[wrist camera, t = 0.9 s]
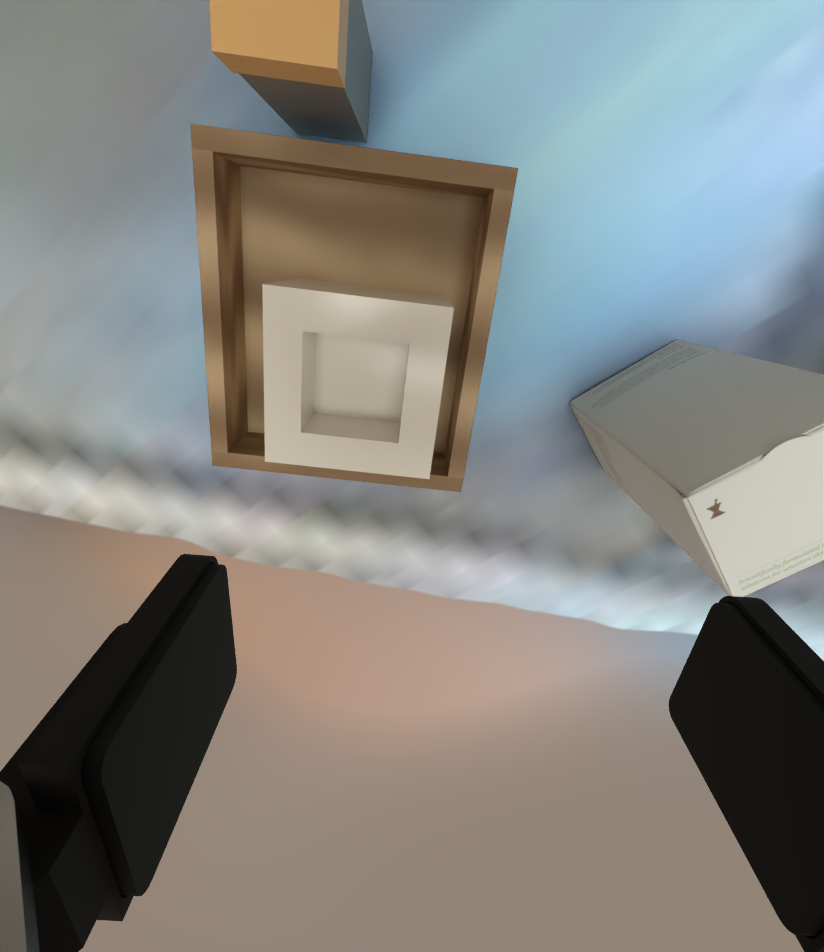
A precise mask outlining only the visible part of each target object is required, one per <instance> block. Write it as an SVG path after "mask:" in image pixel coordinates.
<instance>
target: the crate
mask: <svg viewBox="0 0 824 952" xmlns="http://www.w3.org/2000/svg"><path fill="white" fill-rule="evenodd" d="M190 125H191V140H192V156H193V171H194V187H195V202H196V218H197V233H198V249H199V264H200V280H201V295H202V311H203V326H204V342H205V357H206V373H207V388H208V404H209V419H210V435H211V451H212V465H213V466H222V467H232V468H241V469H250V470H260V471H269V472H278V473H288V474H297V475H307V476H316V477H325V478H335V479H344V480H353V481H363V482H372V483H381V484H391V485H400V486H409V487H419V488H428V489H438V490H447V491H456V492H461V489H462V483H463V477H464V472H465V466H466V460H467V455H468V449H469V443H470V438H471V432H472V426H473V421H474V415H475V409H476V404H477V398H478V392H479V387H480V381H481V375H482V370H483V364H484V358H485V353H486V347H487V341H488V336H489V330H490V324H491V319H492V313H493V307H494V302H495V296H496V290H497V285H498V279H499V273H500V268H501V262H502V256H503V251H504V245H505V239H506V234H507V228H508V222H509V217H510V211H511V205H512V200H513V194H514V188H515V183H516V177H517V171H518V168H512V167H505V166H497V165H490V164H482V163H475V162H468V161H460V160H453V159H446V158H438V157H431V156H424V155H416V154H409V153H401V152H394V151H387V150H379V149H372V148H365V147H357V146H350V145H343V144H335V143H328V142H320V141H313V140H306V139H298V138H291V137H284V136H276V135H269V134H262V133H254V132H247V131H239V130H232V129H225V128H217V127H210V126H203V125H195V124H190ZM296 278H306V279H314V280H322V281H330V282H338V283H347V284H355V285H363V286H371V287H379V288H387V289H395V290H403V291H411V292H419V293H427V294H435V295H443V296H445V297H446V298H447V299H448V301H449V302H450V303H451V304H452V306H453V307H454V312H453V318H452V325H451V332H450V339H449V346H448V353H447V360H446V367H445V374H444V381H443V388H442V395H441V402H440V409H439V416H438V423H437V430H436V437H435V444H434V451H433V457H432V464H431V471H430V478H429V479H423V478H413V477H404V476H395V475H385V474H376V473H367V472H358V471H348V470H339V469H330V468H320V467H311V466H302V465H292V464H283V463H274V462H265V432H264V363H263V294H262V284H266V283H272V282H278V281H284V280H290V279H296Z"/></svg>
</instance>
